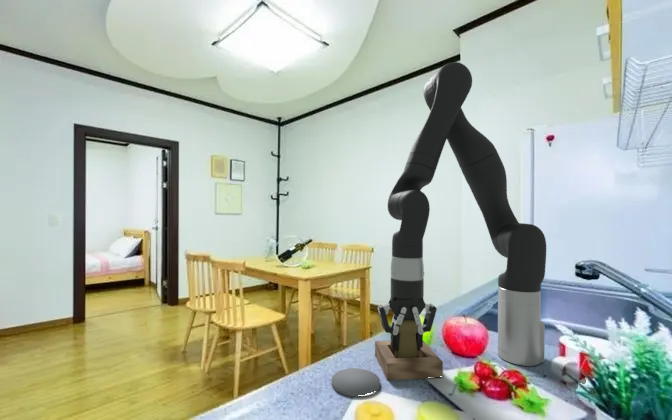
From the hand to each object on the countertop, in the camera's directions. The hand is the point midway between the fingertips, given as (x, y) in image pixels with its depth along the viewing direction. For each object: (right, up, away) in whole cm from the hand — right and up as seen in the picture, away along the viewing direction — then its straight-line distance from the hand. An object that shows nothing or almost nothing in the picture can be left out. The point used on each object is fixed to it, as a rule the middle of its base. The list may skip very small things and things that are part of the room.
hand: (406, 349), depth 76 cm
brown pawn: (0, -4, 0) cm, 4 cm away
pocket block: (0, -4, 0) cm, 4 cm away
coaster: (-12, -4, -8) cm, 15 cm away
